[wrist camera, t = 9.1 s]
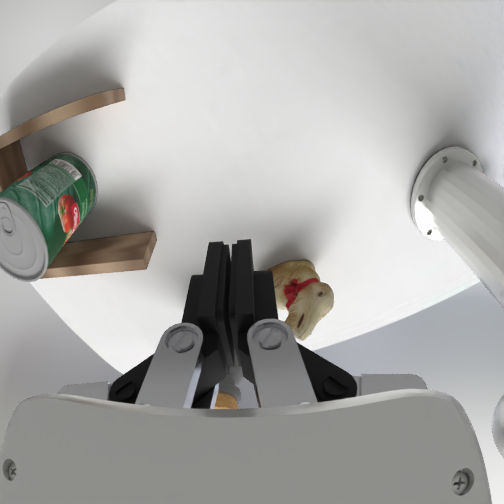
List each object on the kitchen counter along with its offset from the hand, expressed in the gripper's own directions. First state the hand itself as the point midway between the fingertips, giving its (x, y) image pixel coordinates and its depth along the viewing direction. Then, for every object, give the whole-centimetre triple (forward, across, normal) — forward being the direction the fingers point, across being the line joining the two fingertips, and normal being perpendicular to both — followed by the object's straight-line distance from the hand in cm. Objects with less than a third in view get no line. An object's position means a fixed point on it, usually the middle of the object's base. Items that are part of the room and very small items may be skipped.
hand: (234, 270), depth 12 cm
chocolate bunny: (+17, -4, +15) cm, 23 cm away
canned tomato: (+16, +19, 0) cm, 24 cm away
